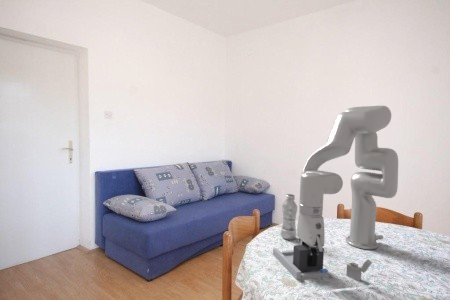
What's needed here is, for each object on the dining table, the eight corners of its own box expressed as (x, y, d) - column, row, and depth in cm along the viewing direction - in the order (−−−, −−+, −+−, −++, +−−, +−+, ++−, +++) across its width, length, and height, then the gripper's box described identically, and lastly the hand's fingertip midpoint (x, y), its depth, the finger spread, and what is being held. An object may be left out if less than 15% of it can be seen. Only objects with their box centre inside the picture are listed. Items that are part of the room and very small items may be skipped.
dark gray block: (316, 263, 94) (317, 243, 93) (322, 268, 90) (323, 248, 89) (292, 265, 92) (293, 245, 91) (298, 271, 88) (299, 250, 87)
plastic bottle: (296, 242, 115) (298, 197, 114) (280, 241, 116) (282, 196, 115) (295, 237, 121) (297, 194, 120) (280, 235, 123) (282, 193, 122)
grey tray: (301, 253, 104) (301, 246, 104) (329, 277, 87) (330, 268, 87) (272, 256, 102) (273, 248, 101) (296, 281, 84) (296, 272, 84)
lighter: (345, 277, 88) (347, 253, 87) (348, 275, 89) (349, 252, 88) (368, 287, 82) (370, 262, 82) (370, 285, 83) (372, 260, 83)
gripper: (336, 216, 82) (333, 274, 83) (307, 203, 99) (304, 251, 100) (314, 218, 81) (311, 276, 82) (288, 203, 97) (286, 252, 98)
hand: (308, 262), depth 91 cm, fingers closed on dark gray block, 4 cm apart
